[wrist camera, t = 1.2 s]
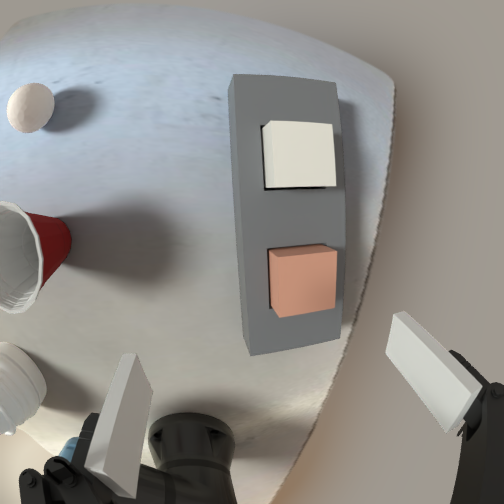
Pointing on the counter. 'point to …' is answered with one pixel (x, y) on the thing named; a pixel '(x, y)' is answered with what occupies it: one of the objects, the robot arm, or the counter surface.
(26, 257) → the plastic cup
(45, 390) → the honey pot
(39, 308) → the counter surface
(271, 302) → the terracotta key
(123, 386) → the robot arm
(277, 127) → the offwhite key
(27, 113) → the egg
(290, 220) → the key console
